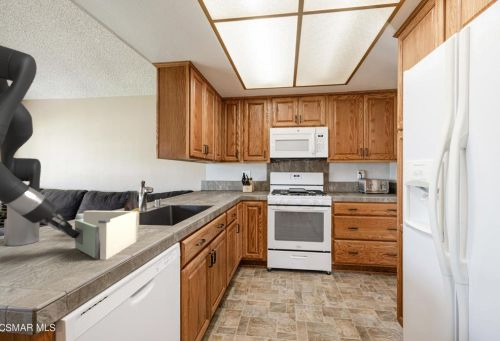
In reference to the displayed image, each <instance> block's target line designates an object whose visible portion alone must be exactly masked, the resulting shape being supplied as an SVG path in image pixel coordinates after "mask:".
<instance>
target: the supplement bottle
mask: <svg viewBox="0 0 500 341" xmlns="http://www.w3.org/2000/svg"><path fill="white" fill-rule="evenodd" d="M76 220H81V221H83V213H77V214H76V219H75V220H74V225H75V224H76Z"/></svg>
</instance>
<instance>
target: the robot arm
mask: <svg viewBox="0 0 500 341" xmlns="http://www.w3.org/2000/svg"><path fill="white" fill-rule="evenodd" d="M36 75H37V62H36V60H35V58H34V57H33V56H32V55H31V54H29V53H25V52H24V51H21V50H17V49H13V48H10V47H7V46H5V45H1V44H0V202H1V203H2V204H4V205H5V206H6V219H4V222H3V223H4V225H3V226H4V227H3V228H4V229H3V230H4V231H3V234H4V236H3V244H4V245H7V246H11V247H13V246H23V245H24V246H26V245H30V244H34V243H37V242H38V241H40V222H42V221H43V223H42V224H44V225H47V226H49V227H51V228H52V229H53V230H57V231H59V232H61V233H63V234H65V235H67V236H68V237H70V238H71V239H74V240H75V238H77V237H78V236H79V233H78V232H77V231H76V230H75V228H73V225H72V224H71V223H70V222H69V221H68V220H67V219H66V218H65V219H64V218H63V217H62V215H61V214H59V213H55V212H54V210H55V209H56V203H54V202H52V200H50V199H48V198H47V197H45V196H44V195H43V194H41V192H40V186H41V185H40V183H41V175H42V174H41V173H42V172H41V171H42V163H41V161H40V160H39V159H38V158H28V157H15V155H16V153H17V152H18V150H19V149H20V148H21V147H23V145H24V144H26V143H28V141H29V140H30V139H31V138H32V135H34V126H33V118H32V115H31V113H30V111H29V110H28V109H27V108H26V106H25V105H24V103H22V101H23V100H24V98H25V96H26V95H27V93H28V91H29V89H30V88H31V86H32V84H33V82H34V80H35V78H36ZM8 81H9V82H10V81H11V83H10V85H9V82H8ZM25 182H28V184H27V183H25Z"/></svg>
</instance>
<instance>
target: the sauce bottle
mask: <svg viewBox="0 0 500 341" xmlns="http://www.w3.org/2000/svg"><path fill="white" fill-rule="evenodd" d="M126 191H127V200H126V203H125V204H124V207H123V209H124V210H123V211H138V232H140V205H139V203H138V202H139V201H138V198H137V197H138V190H137V189H135V190H134V189H133V190H130V189H129V190H126Z"/></svg>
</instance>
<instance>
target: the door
mask: <svg viewBox="0 0 500 341" xmlns="http://www.w3.org/2000/svg"><path fill="white" fill-rule="evenodd" d="M75 220H76V219H75ZM74 230H76V231H77V232H78V233H79V236H78V237H77V238H75V239H74V240H75V241H74V244H75V245H74V248H76V249H77V250H79V251H80V252H82V253H84V254H86V255H89V256H90V257H91V258H92V259H93V258H94V259H99V258H100V243H99V242H100V241H99V227H98V226H95V225H92V224H89V223H86V222H84V221H81V220H76V224H75V223H74Z"/></svg>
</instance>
